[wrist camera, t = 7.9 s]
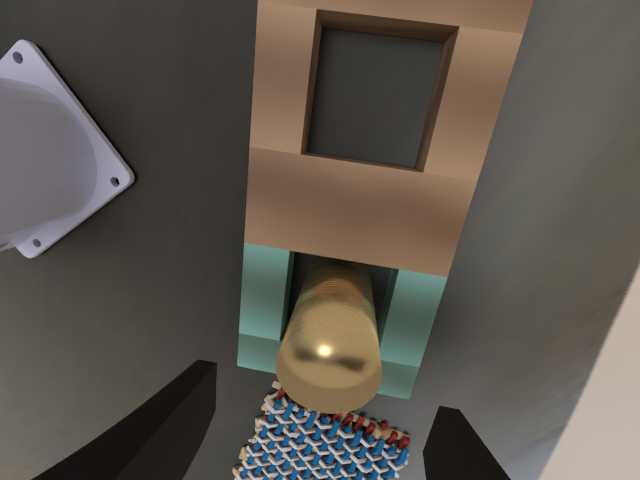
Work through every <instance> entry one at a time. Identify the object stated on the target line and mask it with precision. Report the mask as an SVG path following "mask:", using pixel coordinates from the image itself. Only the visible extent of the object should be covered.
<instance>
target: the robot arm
mask: <svg viewBox="0 0 640 480" xmlns="http://www.w3.org/2000/svg"><path fill="white" fill-rule="evenodd" d="M21 56H22V57H23V61H22V60H21ZM116 178H117V179H118V180H119V185H118V184H117V182H116ZM133 182H134V174H133V172H132V171H131V169H130V168H129V167H128V165H127V164H126V163H125V161H124V160H123V159H122V157H121V156H120V155H119V154H118V152H117V151H116V150H115V148H114V147H113V146H112V144H111V143H110V142H109V140H108V139H107V138H106V136H105V135H104V134H103V133H102V131H101V130H100V129H99V127H98V126H97V125H96V123H95V122H94V121H93V119H92V118H91V117H90V115H89V114H88V113H87V112H86V110H85V109H84V108H83V106H82V105H81V104H80V102H79V101H78V100H77V98H76V97H75V96H74V94H73V93H72V92H71V91H70V89H69V88H68V87H67V85H66V84H65V83H64V81H63V80H62V79H61V77H60V76H59V75H58V73H57V72H56V71H55V70H54V68H53V67H52V66H51V64H50V63H49V62H48V60H47V59H46V58H45V56H44V55H43V54H42V52H41V51H40V50H39V48H38V47H37V46H36V45H35V44H34V43H32V42H29V41H26V40H19V41H17V42H16V43H15V44H14V46H13V47H12V48H11V49H10V50H9V51H8V52H7V53H6V54H5V56H4V57H3V58H2V59H1V60H0V251H3V250H6V249H10V248H13V247H16V248H17V249H18V250H19V251H20V252H21V253H22V254H23V255H24V256H25V257H27V258H33V257H36V256H39V255H40V254H41V253H43V252H44V251H45V250H47V249H48V248H49V247H50V246H52V245H53V244H54V243H56V242H57V241H58V240H60V239H61V238H62V237H63V236H65V235H66V234H67V233H69V232H70V231H71V230H73V229H74V228H75V227H77V226H78V225H79V224H80V223H82V222H83V221H84V220H86V219H87V218H88V217H90V216H91V215H92V214H93V213H95V212H96V211H97V210H99V209H100V208H101V207H103V206H104V205H105V204H107V203H108V202H109V201H110V200H112V199H113V198H114V197H116V196H117V195H118V194H120V193H121V192H122V191H123V190H125V189H126V188H127V187H129V186H130V185H131V184H132V183H133ZM216 372H217V363H214V362H209V361H204V360H197V361H196V362H194V363H193V364H192V365H191V366H190V367H188V368H187V369H186V370H185V371H183V372H182V373H181V374H180V375H179V376H177V377H176V378H175V379H174V380H173V381H171V382H170V383H169V384H168V385H166V386H165V387H164V388H163V389H161V390H160V391H159V392H158V393H156V394H155V395H154V396H152V397H151V398H150V399H149V400H147V401H146V402H145V403H143V404H142V405H141V406H140V407H138V408H137V409H136V410H134V411H133V412H132V413H130V414H129V415H128V416H126V417H125V418H124V419H122V420H121V421H119V422H118V423H117V424H115V425H114V426H112V427H111V428H110V429H108V430H107V431H105V432H104V433H103V434H101V435H100V436H98V437H97V438H95V439H94V440H93V441H91V442H90V443H88V444H87V445H85V446H84V447H82V448H81V449H79V450H78V451H76V452H75V453H73V454H72V455H70V456H68V457H67V458H65V459H64V460H62V461H61V462H59V463H57V464H56V465H54V466H53V467H51V468H50V469H48V470H46V471H45V472H43V473H41V474H40V475H38V476H36V477H35V478H33V479H31V480H182V479H183V477H184V476H185V474H186V472H187V470H188V468H189V466H190V464H191V463H192V461H193V459H194V457H195V455H196V453H197V451H198V449H199V447H200V446H201V444H202V441H203V439H204V437H205V434H206V432H207V429H208V427H209V425H210V422H211V420H212V417H213V415H214V412H215V408H216ZM423 457H424V465H425V474H426V480H511V479H510V478H509V477H508V475H507V474H506V473H505V471H504V470H503V469H502V467H501V466H500V465H499V463H498V462H497V461H496V459H495V458H494V457H493V455H492V454H491V453H490V451H489V450H488V448H487V447H486V446H485V444H484V443H483V442H482V440H481V439H480V437H479V436H478V435H477V433H476V432H475V431H474V429H473V428H472V426H471V425H470V424H469V422H468V421H467V420H466V418H465V417H464V415H463V414H462V413H461V411H460V410H459V409H453V408H448V407H443V406H439V408H438V411H437V414H436V417H435V419H434V422H433V425H432V428H431V431H430V433H429V436H428V439H427V442H426V445H425V447H424V450H423Z"/></svg>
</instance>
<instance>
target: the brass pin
mask: <svg viewBox="0 0 640 480" xmlns="http://www.w3.org/2000/svg"><path fill="white" fill-rule="evenodd" d="M276 374H277V378H278V381H279V383H280V385H281V387H282V388H283V390H284V391H285V392H286V393H287V395H288V396H289V397H290V398H292V399H293V400H294V401H295V402H297V403H298V404H300V405H302V406H303V407H306V408H308V409H310V410H313V411H316V412H321V413H328V414H339V413H346V412H350V411H353V410H356V409H358V408H360V407H362V406H364V405H365V404H367V403H368V402H369V401H370V400H371V399H372V398H373V397H374V396H375V394H376V393H377V391H378V389H379V387H380V384H381V380H382V368H381V360H380V351H379V342H378V334H377V325H376V316H375V307H374V299H373V290H372V281H371V276H370V273H369V271H368V269H367V268H366V266H365V265H364V264H363V263H360V262H354V261H348V260H342V259H336V258H331V257H325V256H322V257H320V258H318V259H317V260H316V261H314V262H313V263H312V265H311V266H310V268H309V269H308V271H307V274H306V277H305V280H304V283H303V285H302V288H301V291H300V294H299V297H298V299H297V302H296V305H295V308H294V311H293V313H292V316H291V319H290V322H289V325H288V327H287V330H286V333H285V336H284V339H283V341H282V344H281V347H280V350H279V353H278V356H277V359H276Z"/></svg>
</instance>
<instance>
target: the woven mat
mask: <svg viewBox="0 0 640 480" xmlns="http://www.w3.org/2000/svg"><path fill="white" fill-rule="evenodd" d="M272 387H274V388H276V389H278V390H279V391H278V392H276V393H274V394H272V395H270V394H268V395H267V397H266V398H265V399H264V401H265V402H266V403H265V404H264V403H263V405H262V408H261V409H262V410H264V411H266V412H265V414H268V415H267V416H260V417H257V418H255V425H256V426H257V427H255V432H256V433H257V434H258V435H257V434H256V435H255V436H253V437H252V438H251V439H249V442H252V443H254V444H253V446H252V448H251V447H250V446H245V447H243V448H242V450H241V454H240V456H239V458H240V459H242V460H243V462H242V463H243V465H236V466H234V467H233V474H234V475H235V477H236V478H235V479H234V480H387V478H393V477H394V476H395V477H396V478H397V479H398V477H399V474H398V473H397V472H396V471H397V470H399V469H401V468H403V467H404V465H403V463H405V464H406V465H407V464H408V462H409V461H408V460H406V457H407V456H409V451H408V450H407V449H406V448H405V447H406V446H407V445H408V443H409V442H410V440H409V436H408V435H406V434H404V433H401V432H399V431H397V430H395V429H392V428H389V427H387V426H388V425H387V424H385V423H379V425H378V424H377V423H376V422H375V421H372V420H370V419H367V418H365V417H363V415H361V416H360V415H357V414H355V413H352V412H346V413H339V414H334V415H333V417H332V418H331V417H329V416H328V413H321V412H316V411H313V410H310V409H308V408H306V407H303V406H302V405H300V404H297V403H295V402H294V400H293V399H292V398H290V397H289V399H285V397H284V393H286V392H285V391H284V390H283V388H282V387H281V385H280V383H279V382H275V381H274V382H273V384H272ZM292 410H293V411H295V413H292V412H291V411H292ZM303 415H305V416H306V417H304V418H302V416H303ZM274 417H275V418H276V419H277V420H274ZM352 421H353V422H356V424H355V426H354V427H353V426H352ZM314 423H315V424H314ZM362 425H363V426H365V427H366V430H365V431H363V430H361V429H360V428H361V426H362ZM273 427H274V429H273V430H272V431H270V430H269V428H273ZM282 431H283V432H284V434H283V435H281V434H280V433H281V432H282ZM309 433H310V434H309ZM291 437H294V440H293V439H291ZM386 439H387V440H386ZM396 439H398V440H400V442H399V443H398V444H395V443H394V442H395V440H396ZM303 441H304V442H305V443H304V444H303V443H302V442H303ZM287 445H288V446H287ZM261 446H262V448H263V449H264V450H261V449H260V447H261ZM285 446H287V447H285ZM258 449H259V450H258ZM270 452H272V453H274V454H273V455H272V454H270ZM296 453H297V454H296ZM309 454H310V455H309ZM281 457H284V458H283V459H282V458H281ZM265 461H267V462H265ZM279 464H280V465H279ZM400 464H401V465H400ZM397 465H398V466H397ZM252 468H254V469H252ZM275 468H276V469H275ZM288 468H289V469H288ZM286 469H288V470H286ZM261 470H262V471H263V472H264V473H261ZM246 475H249V476H250V477H246Z"/></svg>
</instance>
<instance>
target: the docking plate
mask: <svg viewBox="0 0 640 480" xmlns="http://www.w3.org/2000/svg"><path fill="white" fill-rule="evenodd" d="M533 1H534V0H258V9H257V27H256V44H255V62H254V80H253V97H252V115H251V132H250V150H249V167H248V185H247V202H246V220H245V237H244V255H243V272H242V290H241V307H240V325H239V342H238V360H237V366H240V367H245V368H250V369H255V370H260V371H265V372H270V373H275V374H276V359H277V356H278V353H279V350H280V347H281V344H282V341H283V339H284V336H285V333H286V330H287V327H288V325H289V322H290V321H289V320H287V317H288V309H289V300H290V292H291V283H292V275H293V267H294V258H295V252H301V253H307V254H313V255H319V256H325V257H331V258H336V259H342V260H348V261H354V262H360V263H366V264H372V265H377V266H383V267H389V268H391V270H390V274H389V278H388V282H387V287H386V291H385V295H384V299H383V303H382V308H381V312H380V316H379V320H378V324H377V334H378V342H379V351H380V360H381V368H382V380H381V384H380V387H379V389H378V391H377V394H382V395H388V396H393V397H398V398H403V399H408V400H410V397H411V394H412V390H413V387H414V384H415V381H416V377H417V374H418V371H419V368H420V365H421V361H422V358H423V355H424V352H425V348H426V345H427V342H428V339H429V336H430V332H431V329H432V326H433V323H434V320H435V316H436V313H437V310H438V307H439V303H440V300H441V297H442V294H443V291H444V287H445V284H446V281H447V278H448V275H449V271H450V268H451V265H452V262H453V258H454V255H455V252H456V249H457V246H458V242H459V239H460V236H461V233H462V230H463V226H464V223H465V220H466V217H467V213H468V210H469V207H470V204H471V201H472V197H473V194H474V191H475V188H476V185H477V181H478V178H479V175H480V172H481V168H482V165H483V162H484V159H485V156H486V152H487V149H488V146H489V143H490V140H491V136H492V133H493V130H494V127H495V123H496V120H497V117H498V114H499V111H500V107H501V104H502V101H503V98H504V95H505V91H506V88H507V85H508V82H509V78H510V75H511V72H512V69H513V66H514V62H515V59H516V56H517V53H518V50H519V46H520V43H521V40H522V37H523V33H524V30H525V27H526V24H527V21H528V17H529V14H530V11H531V8H532V5H533ZM322 27H325V28H333V29H341V30H349V31H357V32H365V33H373V34H381V35H389V36H397V37H405V38H413V39H421V40H429V41H437V42H445V43H444V47H443V52H442V56H441V60H440V64H439V68H438V73H437V77H436V81H435V85H434V89H433V94H432V98H431V102H430V106H429V110H428V114H427V119H426V123H425V127H424V131H423V135H422V140H421V144H420V148H419V152H418V156H417V161H416V165H415V169H414V168H408V167H401V166H394V165H388V164H381V163H374V162H368V161H361V160H354V159H348V158H341V157H335V156H328V155H321V154H315V153H308V152H307V149H308V141H309V132H310V124H311V115H312V107H313V99H314V90H315V82H316V73H317V65H318V57H319V48H320V40H321V31H322Z"/></svg>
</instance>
